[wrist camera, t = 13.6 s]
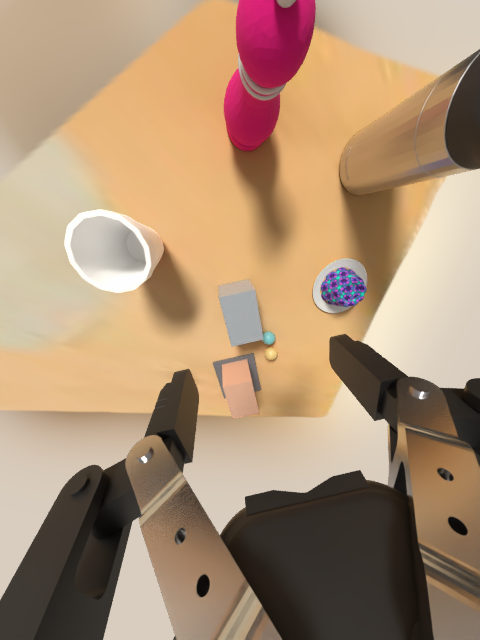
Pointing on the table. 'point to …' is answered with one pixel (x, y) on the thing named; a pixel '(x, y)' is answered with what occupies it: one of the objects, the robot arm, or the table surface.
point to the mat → (249, 358)
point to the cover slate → (240, 312)
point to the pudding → (340, 286)
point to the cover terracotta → (239, 389)
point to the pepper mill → (265, 65)
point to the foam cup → (112, 250)
